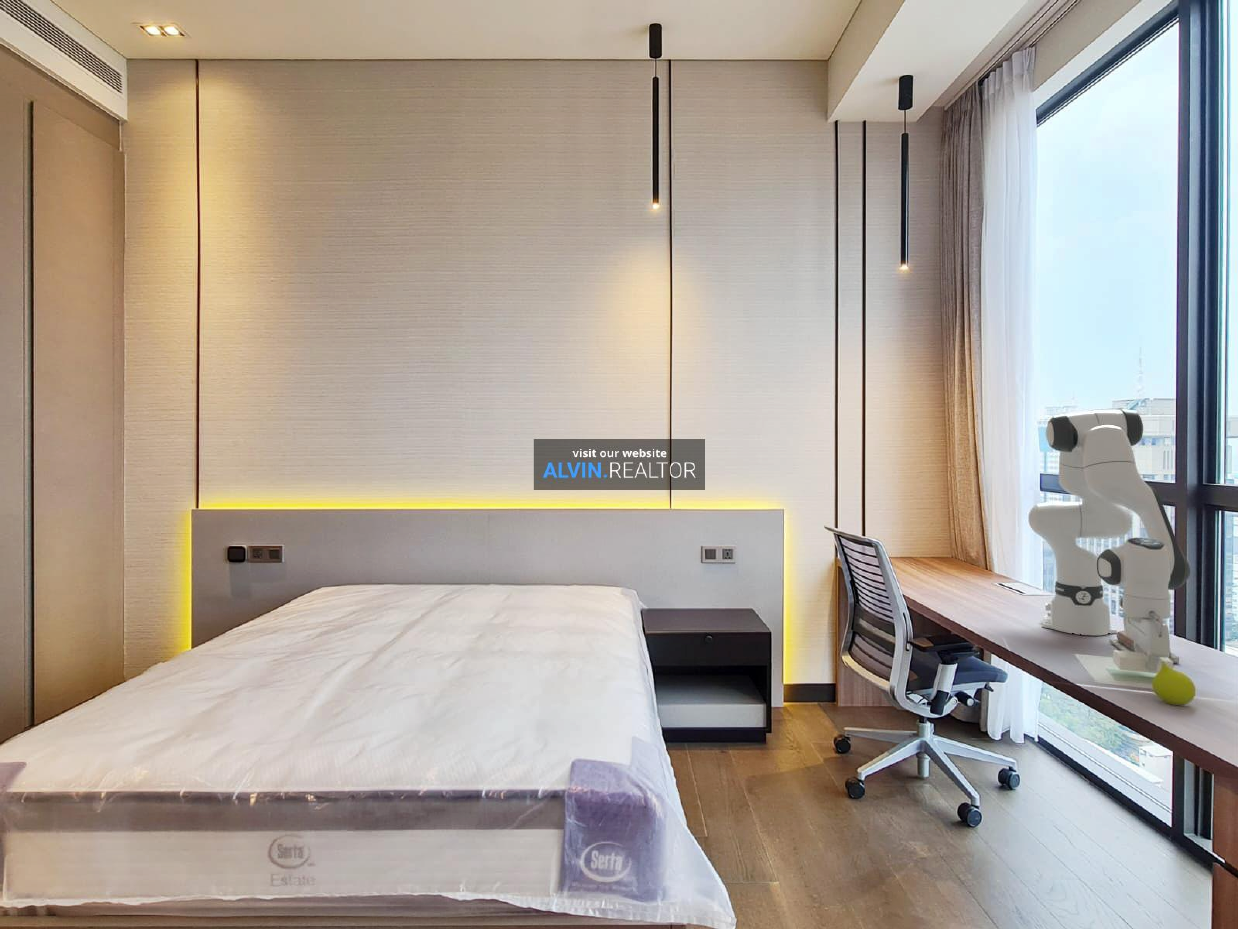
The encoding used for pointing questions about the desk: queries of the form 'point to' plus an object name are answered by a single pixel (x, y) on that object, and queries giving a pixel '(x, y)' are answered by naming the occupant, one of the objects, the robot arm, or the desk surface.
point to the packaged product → (1132, 645)
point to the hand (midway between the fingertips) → (1146, 665)
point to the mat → (1114, 672)
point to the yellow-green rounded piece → (1173, 686)
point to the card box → (1136, 661)
